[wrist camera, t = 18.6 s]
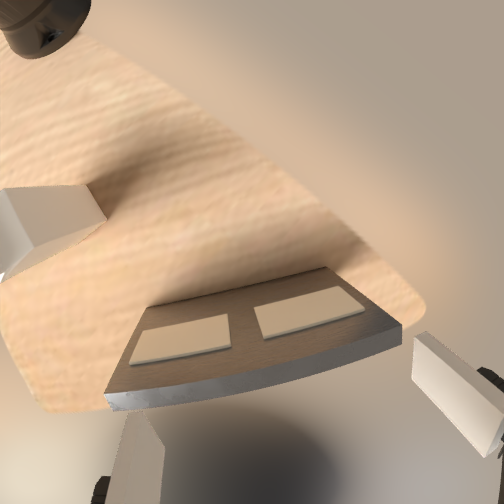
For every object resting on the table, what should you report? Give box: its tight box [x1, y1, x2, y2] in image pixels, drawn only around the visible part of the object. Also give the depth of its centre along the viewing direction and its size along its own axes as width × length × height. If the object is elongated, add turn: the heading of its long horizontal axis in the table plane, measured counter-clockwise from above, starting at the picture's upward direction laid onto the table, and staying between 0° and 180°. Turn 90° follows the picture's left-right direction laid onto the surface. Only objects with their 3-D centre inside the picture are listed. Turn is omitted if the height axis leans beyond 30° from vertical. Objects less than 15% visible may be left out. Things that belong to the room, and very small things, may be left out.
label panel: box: [104, 267, 402, 411], centre depth 33 cm, size 8×26×20 cm, turn 102°
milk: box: [0, 185, 107, 283], centre depth 27 cm, size 6×6×22 cm
